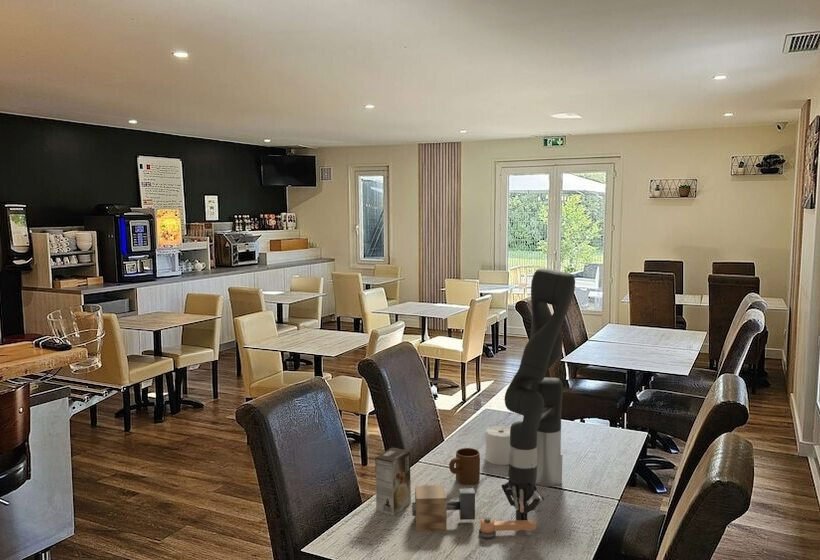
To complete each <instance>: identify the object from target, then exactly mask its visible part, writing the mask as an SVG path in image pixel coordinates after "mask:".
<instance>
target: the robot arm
mask: <svg viewBox="0 0 820 560" xmlns="http://www.w3.org/2000/svg"><path fill="white" fill-rule="evenodd" d="M530 284H531V285H530V286H531V287H530V303H531V326H530V327H531V329H530V338H529V339H528V341H527V343H526V344H525V346H524V349H523V353H522V356H521V359H520V364H519V367H518V369H517V372H516V373H515V374H514V376H513V378H512V380H511V381H510V383H509V384H508V385H509V386H508V387H507V389H506V391H505V394H504V405H505V408H506V409H507V410H508V411H510V412H512V413H515V414H518V415H521V416H523V417H522V418H523V419H522V420H520V421H517V420H516V421H515V422H513V423H512V424H511V425H510V427H511V428H510V448H509V464H508V469H507V470H508V473H507V475H508V482H505V483H503V484H501V488H502V491H503V493H504V494H505V497H506V499H507V500H508V503H509V505H510V506H512V507H514V510H515V521H517V520H528V513H530V512H532V511H534V510H535V509H536V508H537V507H538V506H539V505H540V504H541V503H542V502H543V501H544V499H545V498H544V496H543V495H540V494H539V493H538V492H537V491H538V488H537V486H538V487H539V486H541V487H555V486H559V485H562V484H563V453H562V452H561V451H562V450H561V448H562V446H561V445H562V443H561V442H562V441H561V440H562V406H563V405H562V404H563V394H564V393H563V392H564V391H563V390H564V388H563V386H564V385H563V382H562V380H561V379H560V378H559V377H546V374H547V372H548V370H549V369H550V368H552V367H553V366H554V365H555V364H556V363H557V362H558V361H559V359H560V358H561V356H562V352H563V345H564V343H563V342H564V336H563V335H564V334H563V331H562V330H561V329H562V326H563V323H564V321H565V320H566V319H565V318H566V316H567V313H568V311H569V308H570V306H571V302H572V299H573V297H574V294H575V289H576V280H575V276H574V275H573V274H572V273H568V272H563V271H559V270H556V269H555V270H554V269H550V268H545V267H544V268H543V267H541V268H538V269H536V270H535V272H534V273H533V275H532V279H531V283H530ZM548 305H552V306H555V308H554V312H553V313H551V311H550V309H549V307H548ZM545 408H549V409H548V410H546V411H545V412H544V410H545Z"/></svg>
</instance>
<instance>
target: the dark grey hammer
mask: <svg viewBox="0 0 820 560" xmlns="http://www.w3.org/2000/svg"><path fill="white" fill-rule="evenodd" d="M411 511H412V512H411V513H412V517H415V516H416V503H415V502H411ZM447 511H458V516H459V520H461V521H467V520H469V521H470V520H476V492H475V489H474V488H473V487H471V488H458V501H447Z"/></svg>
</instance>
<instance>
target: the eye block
mask: <svg viewBox="0 0 820 560" xmlns="http://www.w3.org/2000/svg"><path fill="white" fill-rule="evenodd" d="M414 501H415V502H414V503H416V516H414V517H415V525H416V532H422V531H424V532H425V531H426V532H427V531H430V532H431V531H447V526H448V525H447V523H448V522H447V515H448V514H447V513H448V510H447V502H448V501H447V494H446V490H445V484H434V485H433V484H432V485H431V484H430V485H429V484H428V485H414Z"/></svg>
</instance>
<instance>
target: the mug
mask: <svg viewBox="0 0 820 560" xmlns="http://www.w3.org/2000/svg"><path fill="white" fill-rule="evenodd" d="M448 467H449V471H450V473H451V474H454V475H455V480H456V482H457V483H458V484H460V485H463V486H473V485H474V486H475V485H476V484H478V483H479V482H480V478H481V477H480V475H481V456H480V450H478V449H475V448H471V447H464V448H459V449H458V450H456V452H455V457H453V458H452V459H451V460H450V461H449V464H448Z"/></svg>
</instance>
